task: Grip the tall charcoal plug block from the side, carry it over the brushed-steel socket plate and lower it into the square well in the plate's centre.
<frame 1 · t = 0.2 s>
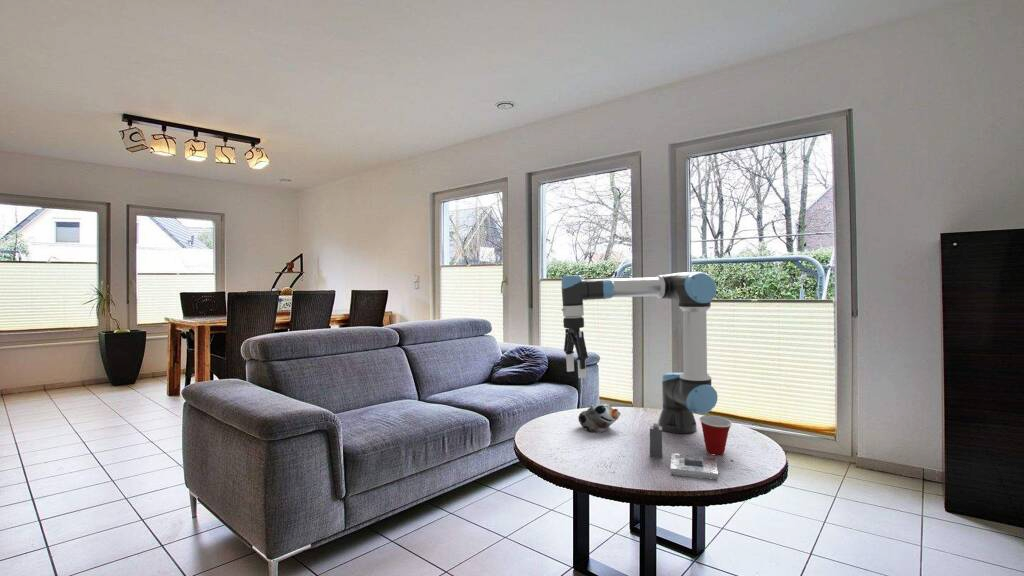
hand: (576, 374, 186), 27 cm above the table, tool pointing down, fingers open, 13 cm apart
lucky cat figurine: (599, 429, 210), on the table
socket: (693, 469, 165), on the table
plastic cup: (715, 453, 180), on the table
plug: (656, 455, 178), on the table
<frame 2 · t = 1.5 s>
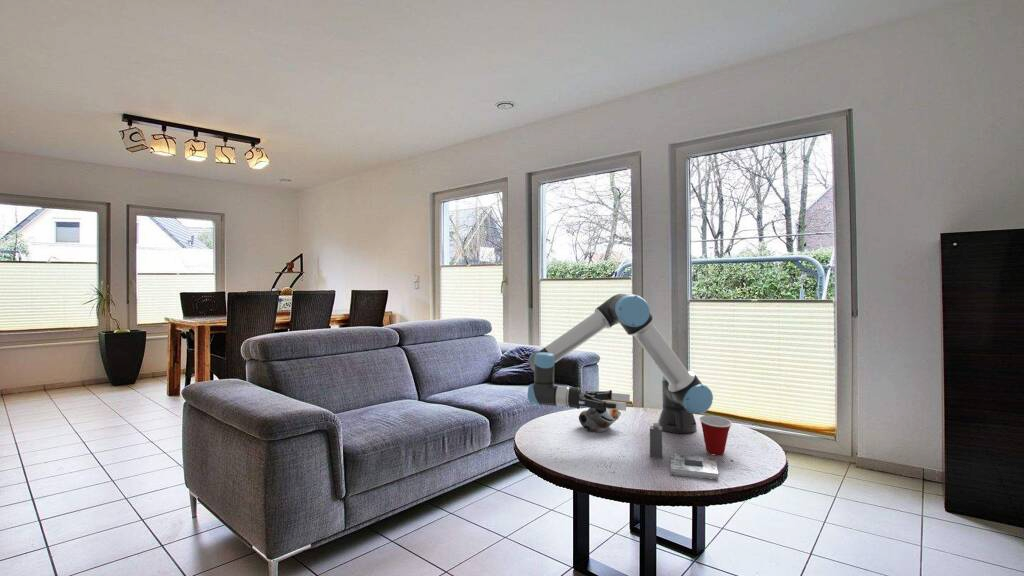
hand: (628, 402, 180), 18 cm above the table, tool horizontal, fingers open, 13 cm apart
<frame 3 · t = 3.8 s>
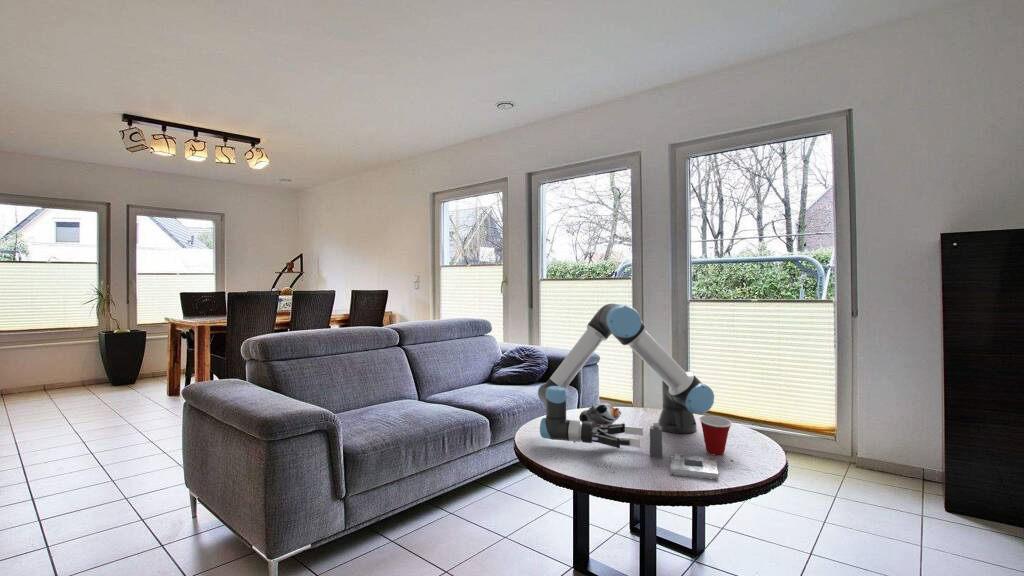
hand: (641, 437, 179), 6 cm above the table, tool horizontal, fingers open, 13 cm apart
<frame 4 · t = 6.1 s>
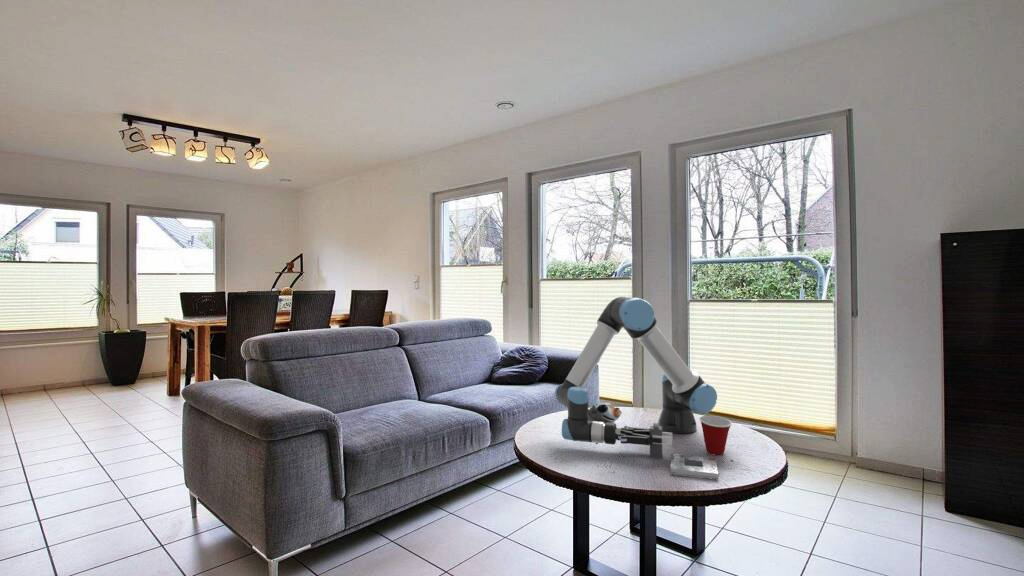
hand: (672, 438, 176), 7 cm above the table, tool horizontal, fingers closed on plug, 4 cm apart
plug: (656, 455, 178), on the table, touching gripper
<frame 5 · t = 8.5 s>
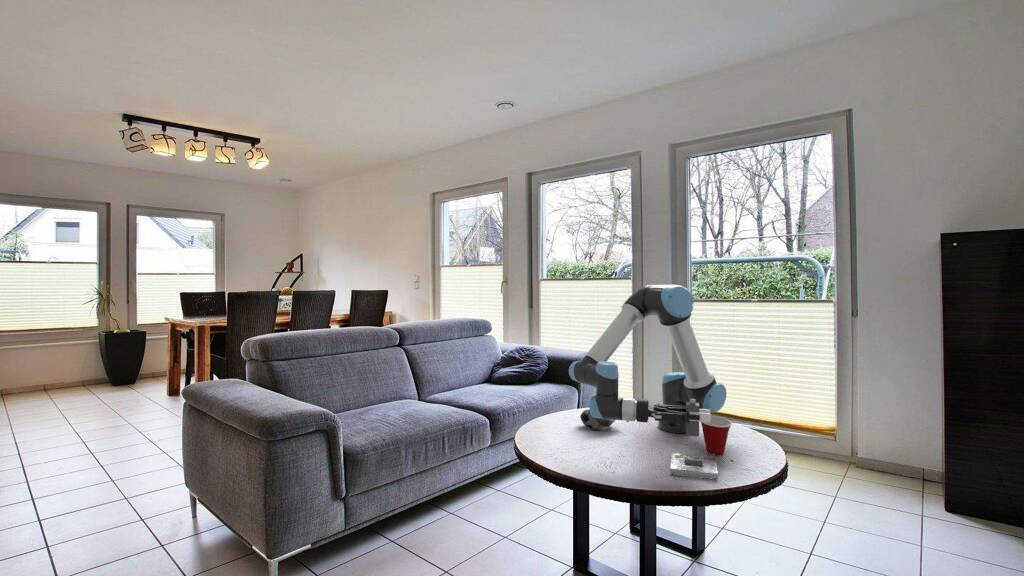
hand: (710, 415, 163), 18 cm above the table, tool horizontal, fingers closed on plug, 4 cm apart
plug: (692, 434, 165), point 11 cm above the table, touching gripper
when the fingers open (7 cm above the table, at t = 11.2 s): plug stays where it is, resting on socket.
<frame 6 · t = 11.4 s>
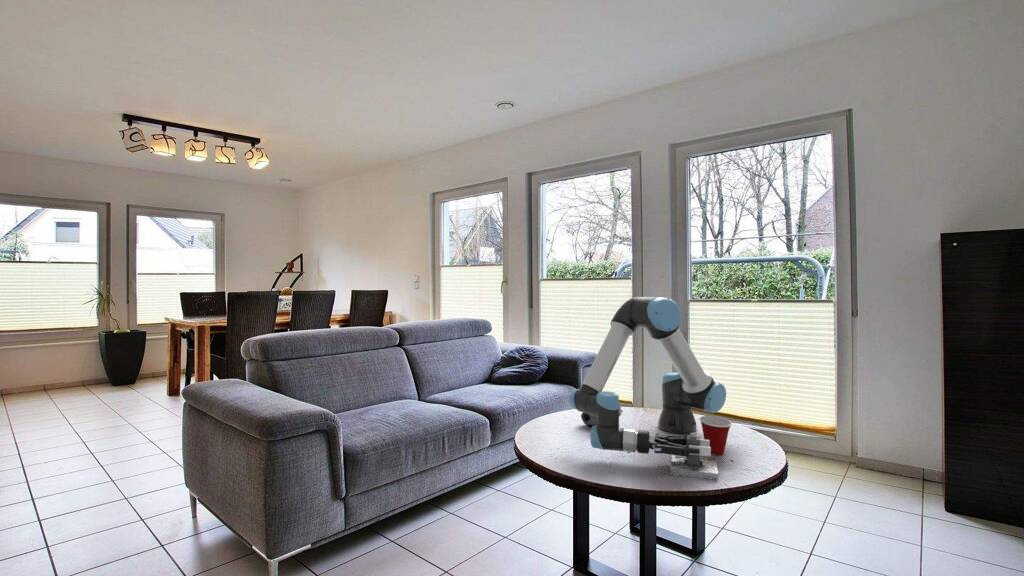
hand: (709, 447, 164), 7 cm above the table, tool horizontal, fingers open, 7 cm apart
plug: (693, 468, 165), resting on socket
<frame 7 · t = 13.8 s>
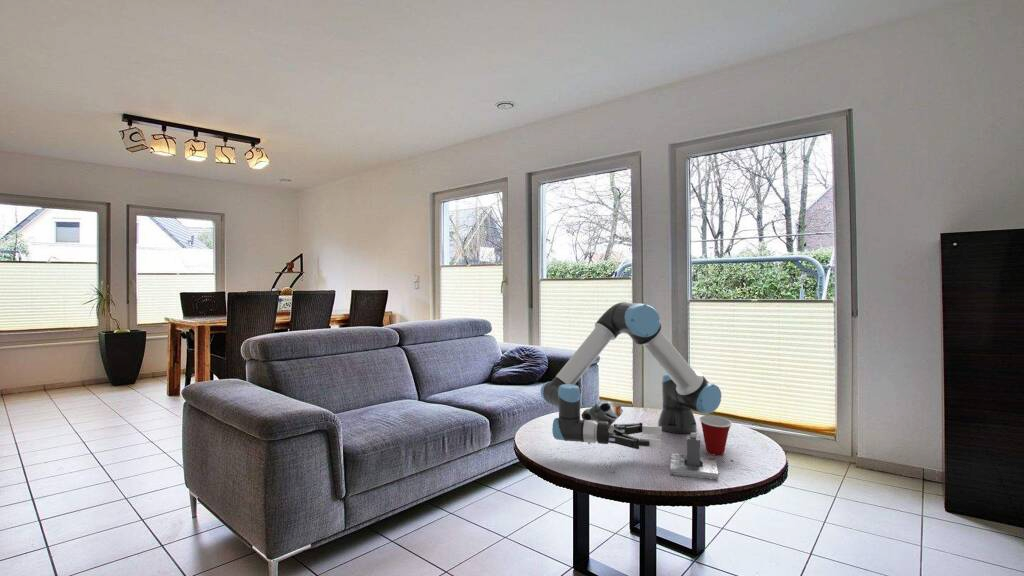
hand: (661, 437, 168), 10 cm above the table, tool horizontal, fingers open, 13 cm apart
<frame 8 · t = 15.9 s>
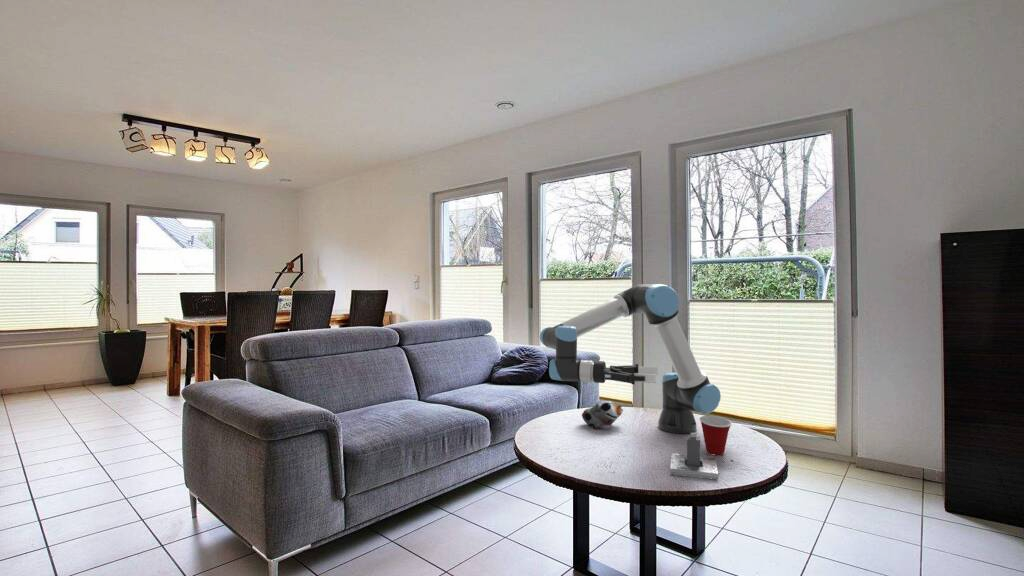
hand: (656, 374, 170), 30 cm above the table, tool horizontal, fingers open, 13 cm apart
at the end: plug 0.0 cm off-centre on the socket, point 0.3 cm above the socket's base; plug tilted 0°; the gripper is holding nothing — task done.
